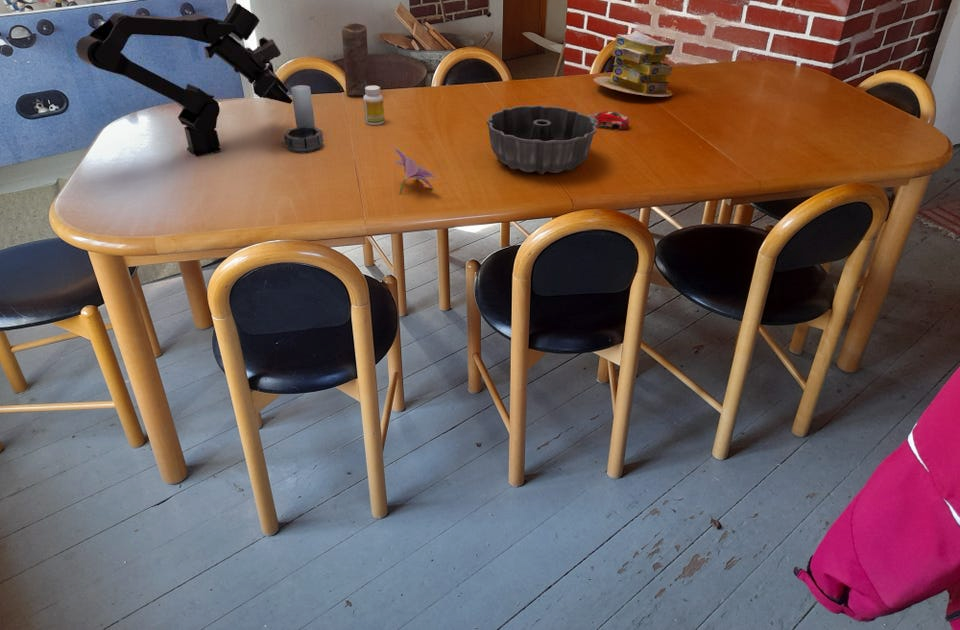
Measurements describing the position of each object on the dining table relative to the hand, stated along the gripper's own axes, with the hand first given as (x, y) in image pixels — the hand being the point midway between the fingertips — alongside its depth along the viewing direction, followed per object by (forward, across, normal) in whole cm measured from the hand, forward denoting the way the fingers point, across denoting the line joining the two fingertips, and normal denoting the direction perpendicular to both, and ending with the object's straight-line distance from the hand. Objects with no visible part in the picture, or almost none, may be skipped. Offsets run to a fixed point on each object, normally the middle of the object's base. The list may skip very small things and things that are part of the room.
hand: (289, 96), depth 179 cm
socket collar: (+8, -10, +6) cm, 14 cm away
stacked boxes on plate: (+82, +7, -67) cm, 106 cm away
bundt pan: (+46, -37, -32) cm, 67 cm away
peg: (+9, 0, +5) cm, 10 cm away
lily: (+22, -43, -8) cm, 49 cm away
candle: (+23, +29, -9) cm, 38 cm away
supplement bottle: (+23, +3, -8) cm, 25 cm away
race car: (+66, -18, -50) cm, 85 cm away
